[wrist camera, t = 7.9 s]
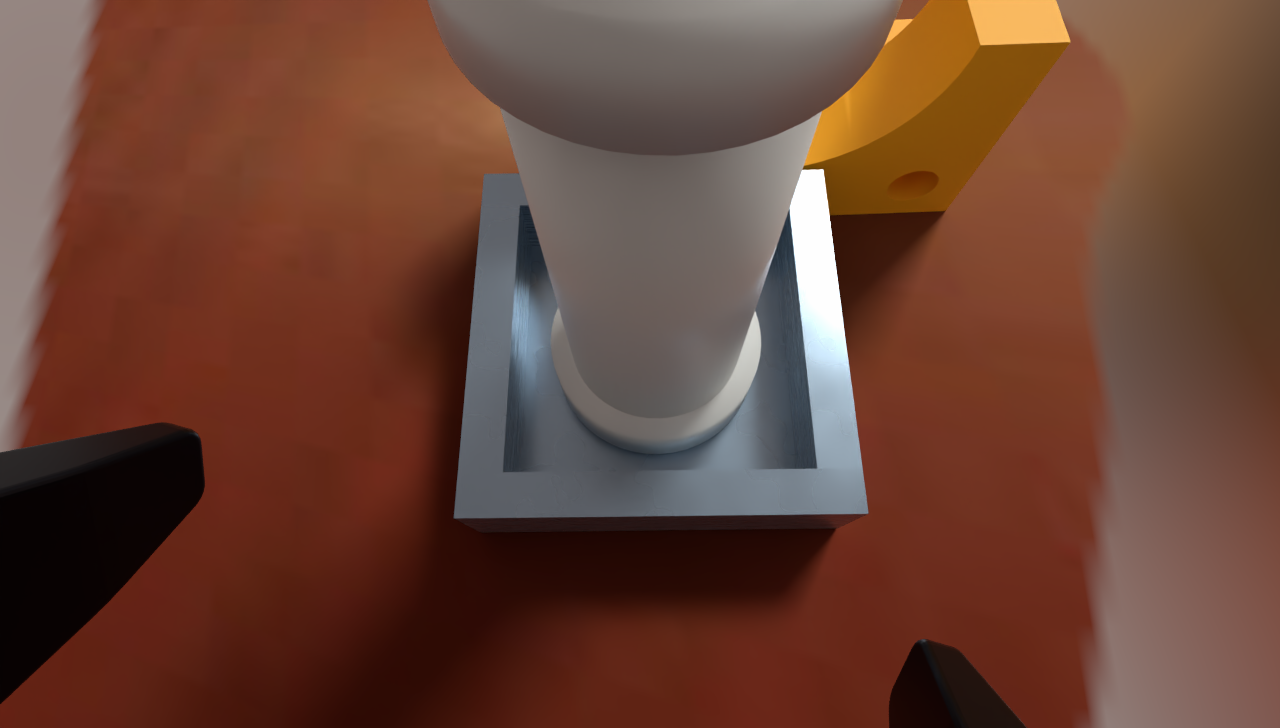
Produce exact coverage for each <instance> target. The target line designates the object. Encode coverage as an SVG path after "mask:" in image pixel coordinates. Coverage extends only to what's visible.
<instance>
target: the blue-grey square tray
mask: <svg viewBox="0 0 1280 728" xmlns="http://www.w3.org/2000/svg"><path fill="white" fill-rule="evenodd" d="M557 309H558V304H557V301H556V297H555V294H554V291H553V287H552V284H551V280H550V277H549V273H548V270H547V267H546V263H545V260H544V256H543V253H542V249H541V246H540V242H539V239H538V236H537V232H536V229H535V225H534V222H533V218H532V215H531V212H530V208H529V205H528V201H527V198H526V194H525V191H524V188H523V184H522V181H521V177H520V174H484V182H483V193H482V205H481V216H480V227H479V239H478V250H477V261H476V273H475V284H474V295H473V307H472V318H471V329H470V340H469V352H468V363H467V374H466V386H465V397H464V408H463V420H462V431H461V442H460V454H459V465H458V476H457V487H456V499H455V510H454V519H456V520H458V521H460V522H461V523H463V524H465V525H467V526H469V527H471V528H473V529H475V530H477V531H478V532H563V531H651V530H739V529H827V528H839V527H841V526H843V525H845V524H848V523H850V522H852V521H854V520H856V519H858V518H860V517H862V516H865V515H867V514H868V507H867V499H866V492H865V484H864V477H863V469H862V461H861V454H860V446H859V439H858V431H857V423H856V416H855V408H854V401H853V393H852V385H851V378H850V370H849V362H848V355H847V347H846V340H845V332H844V324H843V317H842V309H841V302H840V294H839V286H838V279H837V271H836V264H835V256H834V248H833V241H832V233H831V226H830V218H829V210H828V203H827V195H826V188H825V180H824V172H823V170H802V172H801V175H800V178H799V181H798V184H797V187H796V190H795V193H794V196H793V199H792V202H791V205H790V208H789V211H788V214H787V217H786V220H785V223H784V226H783V229H782V232H781V235H780V238H779V241H778V244H777V246H776V249H775V252H774V255H773V258H772V261H771V264H770V267H769V270H768V273H767V276H766V279H765V282H764V285H763V288H762V291H761V294H760V297H759V300H758V303H757V306H756V309H755V312H756V315H757V318H758V321H759V327H760V332H761V352H760V359H759V363H758V367H757V371H756V374H755V376H754V378H753V381H752V383H751V386H750V388H749V390H748V393H747V395H746V397H745V400H744V402H743V404H742V405H741V407H740V409H739V411H738V412H737V414H736V415H735V416H734V417H733V419H732V420H731V421H730V422H729V423H728V424H727V425H726V426H725V427H724V428H723V429H722V430H721V431H720V432H719V433H717V434H716V435H714V436H713V437H712V438H710V439H709V440H707V441H705V442H703V443H701V444H699V445H697V446H694V447H692V448H689V449H687V450H683V451H678V452H674V453H666V454H645V453H638V452H632V451H629V450H626V449H622V448H619V447H617V446H615V445H612V444H610V443H608V442H606V441H605V440H603V439H601V438H600V437H598V436H597V435H596V434H594V433H593V432H592V431H591V430H589V429H588V428H587V427H586V426H585V425H584V424H583V423H582V422H581V421H580V420H579V418H578V417H577V416H576V414H575V413H574V412H573V410H572V409H571V407H570V405H569V403H568V401H567V399H566V397H565V394H564V392H563V389H562V386H561V384H560V381H559V378H558V376H557V373H556V370H555V367H554V363H553V358H552V352H551V333H552V326H553V321H554V317H555V314H556V312H557Z"/></svg>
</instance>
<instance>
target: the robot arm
mask: <svg viewBox="0 0 1280 728" xmlns="http://www.w3.org/2000/svg"><path fill="white" fill-rule="evenodd" d="M204 487H205V478H204V467H203V456H202V445H201V439H200V437H199V436H198V434H197V433H196V432H195V431H193V430H191V429H188V428H185V427H181V426H178V425H174V424H171V423H162V422H161V423H155V424H149V425H144V426H139V427H133V428H128V429H123V430H117V431H112V432H107V433H101V434H96V435H91V436H85V437H80V438H75V439H69V440H64V441H59V442H53V443H48V444H43V445H37V446H32V447H27V448H21V449H16V450H11V451H6V452H0V704H1V703H2V702H3V701H4V700H5V699H6V698H8V697H9V696H10V695H11V694H12V693H13V692H14V691H15V690H16V689H17V688H18V687H19V686H20V685H21V684H22V683H24V682H25V681H26V680H27V679H28V678H29V677H30V676H31V675H32V674H33V673H34V672H35V671H36V670H37V669H38V668H40V667H41V666H42V665H43V664H44V663H45V662H46V661H47V660H48V659H49V658H50V657H51V656H52V655H53V654H54V653H56V652H57V651H58V650H59V649H60V648H61V647H62V646H63V645H64V644H65V643H66V642H67V641H68V640H69V639H70V638H71V637H73V636H74V635H75V634H76V633H77V632H78V631H79V630H80V629H81V628H82V627H83V626H84V625H85V624H86V623H87V622H89V621H90V620H91V619H92V618H93V617H94V616H95V615H96V614H97V613H98V612H99V611H100V610H101V609H102V608H103V607H104V606H105V605H106V604H107V603H108V602H109V601H110V600H111V599H112V598H113V597H114V596H115V595H116V593H117V592H118V591H119V590H120V589H121V588H122V587H123V586H124V585H125V584H126V583H127V582H128V580H129V579H130V578H131V577H132V576H133V575H134V574H135V573H136V572H137V570H138V569H139V568H140V567H141V566H142V565H143V564H144V563H145V562H146V560H147V559H148V558H149V557H150V556H151V555H152V554H153V553H154V551H155V550H156V549H157V548H158V547H159V546H160V545H161V544H162V543H163V541H164V540H165V539H166V538H167V537H168V536H169V535H170V534H171V533H172V531H173V530H174V529H175V528H176V527H177V526H178V525H179V524H180V523H181V521H182V520H183V519H184V518H185V517H186V516H187V515H188V514H189V513H190V511H191V510H192V509H193V508H194V507H195V506H196V505H197V503H198V502H199V500H200V498H201V497H202V494H203V492H204ZM889 728H1027V727H1026V726H1025V725H1024V724H1023V723H1022V722H1021V721H1020V719H1019V718H1018V717H1017V716H1016V715H1015V714H1014V712H1013V711H1012V710H1011V709H1010V708H1009V707H1008V706H1007V704H1006V703H1005V702H1004V701H1003V700H1002V699H1001V698H1000V696H999V695H998V694H997V693H996V692H995V691H994V689H993V688H992V687H991V686H990V685H989V684H988V683H987V681H986V680H985V679H984V678H983V677H982V676H981V675H980V673H979V672H978V671H977V670H976V669H975V668H974V667H973V665H972V664H971V663H970V662H969V661H968V660H967V658H966V657H965V656H964V655H963V654H962V653H961V652H960V651H959V650H958V649H956V648H954V647H951V646H948V645H944V644H941V643H937V642H934V641H930V640H927V639H922V640H918V641H917V642H916V643H915V644H914V646H913V647H912V649H911V651H910V653H909V655H908V657H907V659H906V661H905V664H904V666H903V668H902V670H901V672H900V674H899V676H898V678H897V680H896V682H895V684H894V686H893V689H892V692H891V696H890V701H889Z"/></svg>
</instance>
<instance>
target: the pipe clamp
mask: <svg viewBox="0 0 1280 728" xmlns="http://www.w3.org/2000/svg"><path fill="white" fill-rule="evenodd" d="M1069 44H1070V39H1069V36H1068V33H1067V30H1066V27H1065V25H1064V22H1063V19H1062V16H1061V13H1060V10H1059V8H1058V5H1057V2H1056V0H929V2H928V3H927V4H926V5H925V7H924V8H923V9H922V10H921V11H920V12H919V14H918V15H917V16H916V17H915V18H914V19H906V20H894V23H893V25H892V28H891V30H890V32H889V35H888V37H887V40H886V42H885V45H884V46H883V48H882V50H881V51H880V53H879V54H878V56H877V57H876V59H875V61H874V62H873V64H872V65H871V67H870V68H869V69H868V70H867V71H866V73H865V74H864V75H863V76H862V77H861V78H860V79H859V81H858V82H857V83H856V84H855V85H854V86H853V87H852V88H851V89H850V90H849V91H847V92H846V93H845V94H844V95H843V96H841V97H840V98H839V99H838V100H837V101H836V102H834V103H833V104H832V105H831V106H829V107H828V108H826V109H824V110H823V111H822V113H821V116H820V119H819V122H818V125H817V128H816V131H815V134H814V137H813V140H812V143H811V146H810V148H809V151H808V154H807V157H806V160H805V163H804V166H803V169H802V170H823V172H824V180H825V188H826V195H827V203H828V210H829V215H850V214H878V213H905V212H932V211H946V210H947V208H948V207H949V206H950V204H951V203H952V202H953V200H954V199H955V198H956V196H957V195H958V194H959V192H960V191H961V189H962V188H963V187H964V185H965V184H966V183H967V181H968V180H969V179H970V177H971V176H972V175H973V173H974V172H975V171H976V169H977V168H978V167H979V165H980V164H981V162H982V161H983V160H984V158H985V157H986V156H987V154H988V153H989V152H990V150H991V149H992V148H993V146H994V145H995V144H996V142H997V141H998V140H999V138H1000V137H1001V135H1002V134H1003V133H1004V131H1005V130H1006V129H1007V127H1008V126H1009V125H1010V123H1011V122H1012V121H1013V119H1014V118H1015V117H1016V115H1017V114H1018V113H1019V111H1020V110H1021V108H1022V107H1023V106H1024V104H1025V103H1026V102H1027V100H1028V99H1029V98H1030V96H1031V95H1032V94H1033V92H1034V91H1035V90H1036V88H1037V87H1038V86H1039V84H1040V83H1041V81H1042V80H1043V79H1044V77H1045V76H1046V75H1047V73H1048V72H1049V71H1050V69H1051V68H1052V67H1053V65H1054V64H1055V63H1056V61H1057V60H1058V58H1059V57H1060V56H1061V54H1062V53H1063V52H1064V50H1065V49H1066V48H1067V46H1068V45H1069Z"/></svg>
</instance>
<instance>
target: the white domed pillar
mask: <svg viewBox="0 0 1280 728" xmlns="http://www.w3.org/2000/svg"><path fill="white" fill-rule="evenodd" d="M427 1H428V3H429V6H430V9H431V12H432V14H433V17H434V20H435V23H436V26H437V28H438V31H439V34H440V37H441V39H442V42H443V44H444V45H445V47H446V49H447V51H448V52H449V54H450V56H451V57H452V59H453V61H454V63H455V64H456V65H457V66H458V68H459V69H460V70H461V71H462V73H463V74H464V75H465V76H466V77H467V79H468V80H469V81H470V82H471V83H472V84H473V85H474V86H475V87H476V88H477V89H478V90H479V91H480V92H482V93H483V94H484V95H485V96H486V97H487V98H488V99H489V100H490V101H492V102H493V103H494V104H496V105H497V106H499V107H500V109H501V112H502V116H503V119H504V122H505V126H506V129H507V133H508V136H509V140H510V143H511V146H512V150H513V153H514V157H515V160H516V164H517V167H518V170H519V174H520V177H521V181H522V184H523V188H524V191H525V194H526V198H527V201H528V205H529V208H530V212H531V215H532V218H533V222H534V225H535V229H536V232H537V236H538V239H539V242H540V246H541V249H542V253H543V256H544V260H545V263H546V267H547V270H548V273H549V277H550V280H551V284H552V287H553V291H554V294H555V297H556V301H557V304H558V309H557V312H556V314H555V317H554V321H553V326H552V333H551V352H552V358H553V363H554V367H555V370H556V373H557V376H558V378H559V381H560V384H561V386H562V389H563V392H564V394H565V397H566V399H567V401H568V403H569V405H570V407H571V409H572V410H573V412H574V413H575V414H576V416H577V417H578V418H579V420H580V421H581V422H582V423H583V424H584V425H585V426H586V427H587V428H588V429H589V430H591V431H592V432H593V433H594V434H596V435H597V436H598V437H600V438H601V439H603V440H605V441H606V442H608V443H610V444H612V445H615V446H617V447H619V448H622V449H626V450H629V451H632V452H638V453H645V454H666V453H674V452H678V451H683V450H687V449H689V448H692V447H694V446H697V445H699V444H701V443H703V442H705V441H707V440H709V439H710V438H712V437H713V436H714V435H716V434H717V433H719V432H720V431H721V430H722V429H723V428H724V427H725V426H726V425H727V424H728V423H729V422H730V421H731V420H732V419H733V417H734V416H735V415H736V414H737V412H738V411H739V409H740V407H741V405H742V404H743V402H744V400H745V397H746V395H747V393H748V390H749V388H750V386H751V383H752V381H753V378H754V376H755V374H756V371H757V367H758V363H759V359H760V352H761V332H760V327H759V321H758V318H757V315H756V312H755V309H756V306H757V303H758V300H759V297H760V294H761V291H762V288H763V285H764V282H765V279H766V276H767V273H768V270H769V267H770V264H771V261H772V258H773V255H774V252H775V249H776V246H777V244H778V241H779V238H780V235H781V232H782V229H783V226H784V223H785V220H786V217H787V214H788V211H789V208H790V205H791V202H792V199H793V196H794V193H795V190H796V187H797V184H798V181H799V178H800V175H801V172H802V169H803V166H804V163H805V160H806V157H807V154H808V151H809V148H810V146H811V143H812V140H813V137H814V134H815V131H816V128H817V125H818V122H819V119H820V116H821V113H822V111H823V110H824V109H826V108H828V107H829V106H831V105H832V104H833V103H834V102H836V101H837V100H838V99H839V98H840V97H841V96H843V95H844V94H845V93H846V92H847V91H849V90H850V89H851V88H852V87H853V86H854V85H855V84H856V83H857V82H858V81H859V79H860V78H861V77H862V76H863V75H864V74H865V73H866V71H867V70H868V69H869V68H870V67H871V65H872V64H873V62H874V61H875V59H876V57H877V56H878V54H879V53H880V51H881V50H882V48H883V46H884V45H885V42H886V40H887V37H888V35H889V32H890V30H891V28H892V25H893V23H894V20H895V18H896V15H897V13H898V11H899V8H900V6H901V3H902V1H903V0H427Z"/></svg>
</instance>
